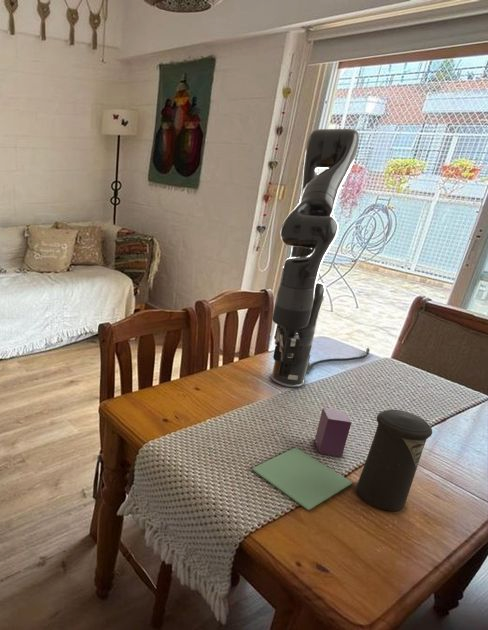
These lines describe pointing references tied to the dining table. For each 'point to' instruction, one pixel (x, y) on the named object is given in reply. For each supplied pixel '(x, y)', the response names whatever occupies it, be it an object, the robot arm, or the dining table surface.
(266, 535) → the dining table surface
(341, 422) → the block
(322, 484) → the mat
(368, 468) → the container
